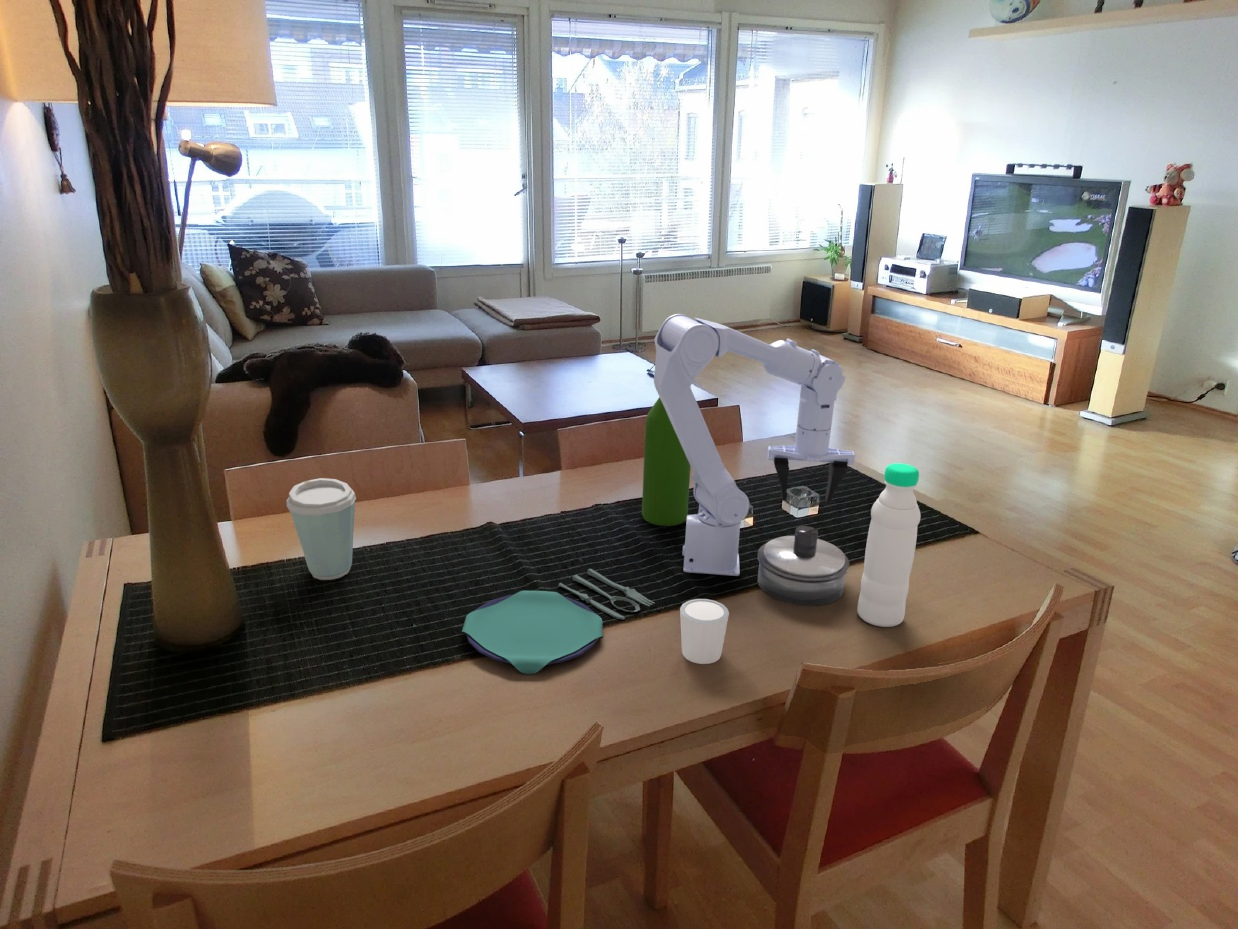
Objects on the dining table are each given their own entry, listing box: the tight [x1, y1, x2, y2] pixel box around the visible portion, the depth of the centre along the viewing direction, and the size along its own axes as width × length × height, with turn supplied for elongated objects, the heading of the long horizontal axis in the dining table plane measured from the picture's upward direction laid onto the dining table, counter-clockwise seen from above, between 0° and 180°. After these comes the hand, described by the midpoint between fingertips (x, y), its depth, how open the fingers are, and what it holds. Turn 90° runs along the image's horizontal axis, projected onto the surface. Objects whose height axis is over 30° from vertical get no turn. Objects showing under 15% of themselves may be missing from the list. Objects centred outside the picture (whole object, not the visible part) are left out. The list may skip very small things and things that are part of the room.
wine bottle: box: [641, 396, 691, 527], centre depth 161 cm, size 9×9×32 cm
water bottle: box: [856, 462, 922, 628], centre depth 129 cm, size 7×7×25 cm
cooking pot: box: [757, 541, 850, 607], centre depth 142 cm, size 15×15×5 cm
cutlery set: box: [461, 568, 656, 675], centre depth 129 cm, size 20×30×2 cm, turn 136°
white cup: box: [679, 598, 730, 665], centre depth 121 cm, size 7×7×7 cm
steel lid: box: [763, 525, 845, 578], centre depth 139 cm, size 13×13×5 cm
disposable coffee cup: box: [285, 477, 357, 581], centre depth 139 cm, size 11×11×15 cm
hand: (805, 499), depth 150 cm, fingers open, 7 cm apart
